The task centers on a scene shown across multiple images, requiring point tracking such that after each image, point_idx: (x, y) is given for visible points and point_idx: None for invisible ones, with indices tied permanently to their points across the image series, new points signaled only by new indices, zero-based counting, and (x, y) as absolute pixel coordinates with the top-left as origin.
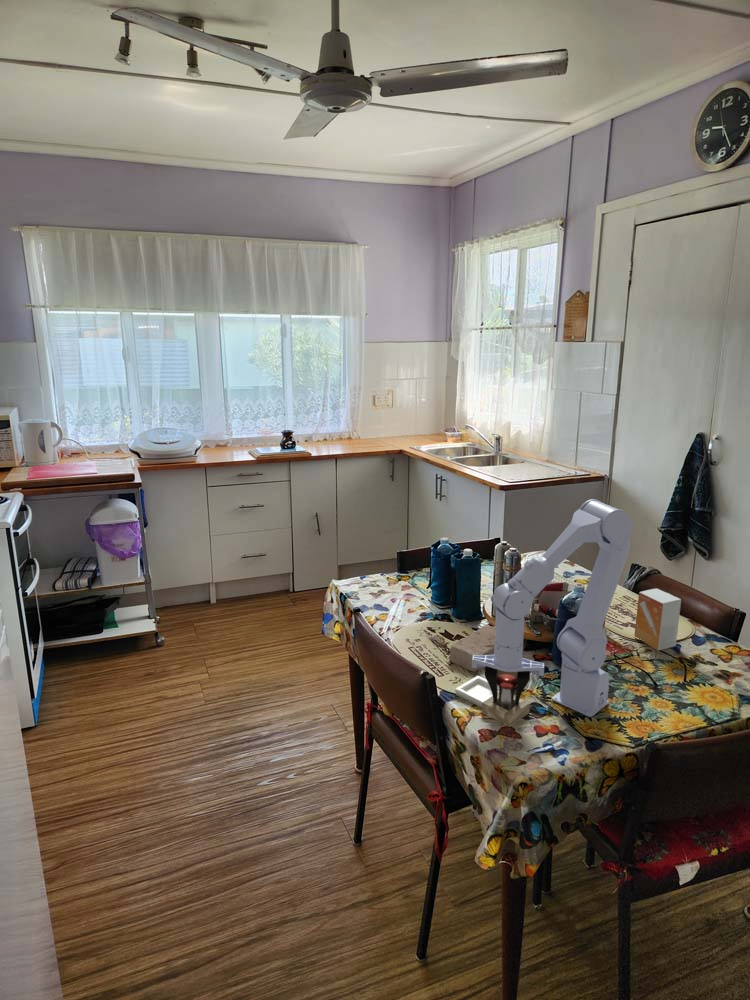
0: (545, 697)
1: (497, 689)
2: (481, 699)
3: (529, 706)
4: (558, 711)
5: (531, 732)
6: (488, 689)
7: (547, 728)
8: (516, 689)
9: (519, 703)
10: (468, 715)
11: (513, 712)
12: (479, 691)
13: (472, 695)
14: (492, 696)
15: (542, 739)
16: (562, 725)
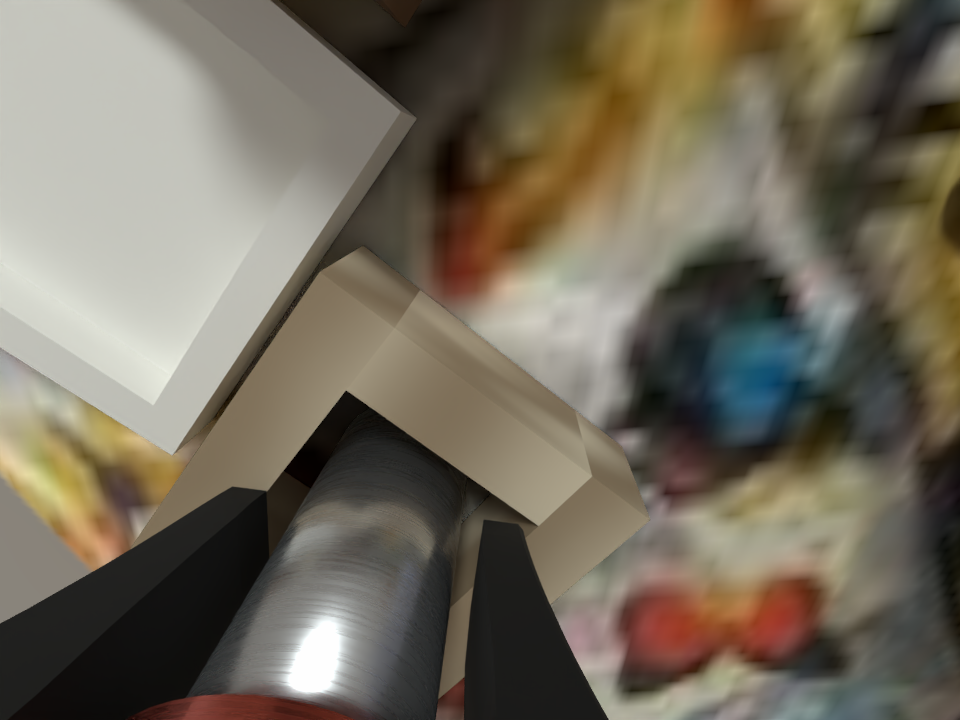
0: (903, 114)
1: (210, 544)
2: (125, 397)
3: (638, 491)
4: (931, 391)
5: (590, 660)
6: (177, 53)
7: (727, 617)
8: (485, 622)
9: (527, 538)
10: (103, 510)
11: (451, 672)
12: (79, 126)
13: (7, 331)
14: (215, 432)
15: (652, 715)
16: (870, 579)
